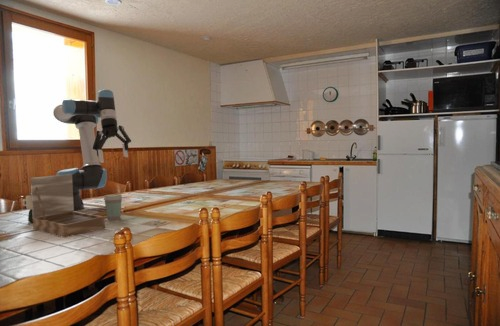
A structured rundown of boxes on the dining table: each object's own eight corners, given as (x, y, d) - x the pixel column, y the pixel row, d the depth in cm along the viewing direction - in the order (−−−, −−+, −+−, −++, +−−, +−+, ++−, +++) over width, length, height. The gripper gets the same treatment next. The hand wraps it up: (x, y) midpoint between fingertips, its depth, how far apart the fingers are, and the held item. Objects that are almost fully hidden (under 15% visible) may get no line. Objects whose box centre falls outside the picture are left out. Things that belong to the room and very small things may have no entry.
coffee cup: (126, 218, 170) (125, 194, 169) (111, 221, 163) (110, 197, 162) (116, 216, 174) (115, 193, 174) (101, 219, 167) (100, 195, 166)
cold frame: (33, 229, 150) (30, 177, 149) (72, 221, 165) (70, 174, 164) (64, 237, 136) (61, 180, 135) (105, 227, 151) (102, 176, 150)
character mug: (50, 219, 169) (49, 193, 169) (44, 222, 162) (43, 196, 162) (27, 220, 168) (25, 194, 167) (20, 224, 161) (18, 197, 160)
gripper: (82, 123, 171) (86, 163, 168) (126, 112, 168) (132, 153, 165) (91, 126, 179) (96, 165, 176) (134, 115, 175) (140, 155, 172)
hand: (113, 159), depth 170 cm, fingers open, 13 cm apart
